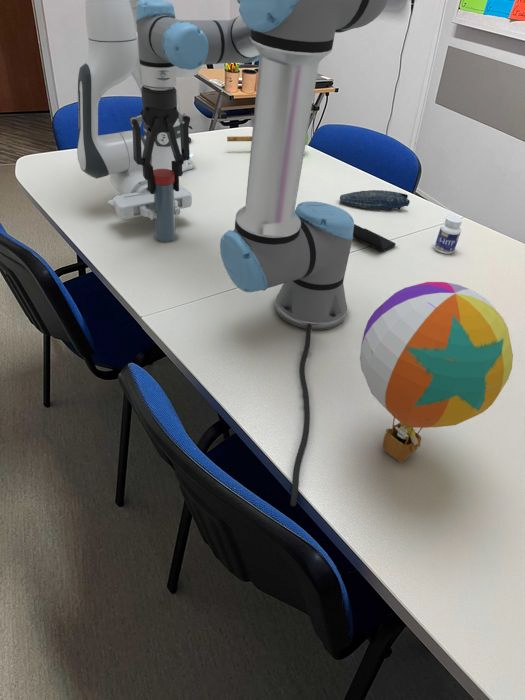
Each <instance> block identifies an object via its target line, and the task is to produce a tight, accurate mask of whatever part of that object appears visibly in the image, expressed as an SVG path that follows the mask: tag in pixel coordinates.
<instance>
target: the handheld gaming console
mask: <svg viewBox="0 0 525 700" xmlns="http://www.w3.org/2000/svg"><path fill="white" fill-rule="evenodd" d="M353 239H355V240H357V241H359V242H361V243H363V244H366V245H368V246H369V247H370V248H372V249H374V250H377V251H379V252H381V253H384V252H386V251H388V250H390V249H392V248H394V247H396V242H394V241H391V239H388V238H386V237H384V236H382V235H380V234H378V233H376V232H374V231H371V230H369V229H367V228H363V227H361V226H359V225H357V224H355V223H354V229H353Z"/></svg>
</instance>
